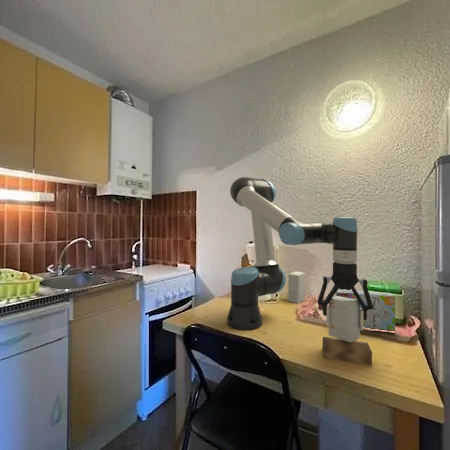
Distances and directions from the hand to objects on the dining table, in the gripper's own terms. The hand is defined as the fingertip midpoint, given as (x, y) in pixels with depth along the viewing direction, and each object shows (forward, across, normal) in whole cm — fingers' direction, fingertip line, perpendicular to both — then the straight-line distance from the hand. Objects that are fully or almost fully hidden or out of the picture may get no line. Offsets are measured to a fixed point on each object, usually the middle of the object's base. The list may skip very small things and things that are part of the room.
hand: (344, 326), depth 90 cm
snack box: (+8, +10, +22) cm, 25 cm away
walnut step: (+8, 0, -5) cm, 9 cm away
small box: (+4, 0, 0) cm, 4 cm away
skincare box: (+8, -18, +52) cm, 56 cm away
